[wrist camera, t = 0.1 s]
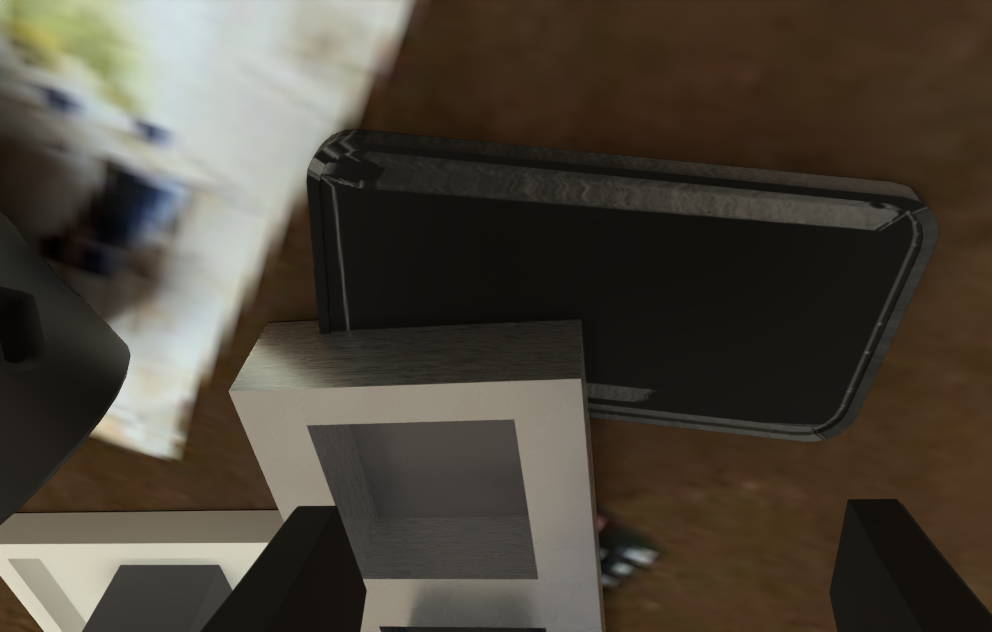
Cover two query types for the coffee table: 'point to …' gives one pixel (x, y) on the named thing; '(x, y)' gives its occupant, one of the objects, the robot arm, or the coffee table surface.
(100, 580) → the tray
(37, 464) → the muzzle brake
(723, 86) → the coffee table surface
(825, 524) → the coffee table surface
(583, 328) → the phone
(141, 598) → the plug
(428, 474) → the block
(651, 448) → the coffee table surface
